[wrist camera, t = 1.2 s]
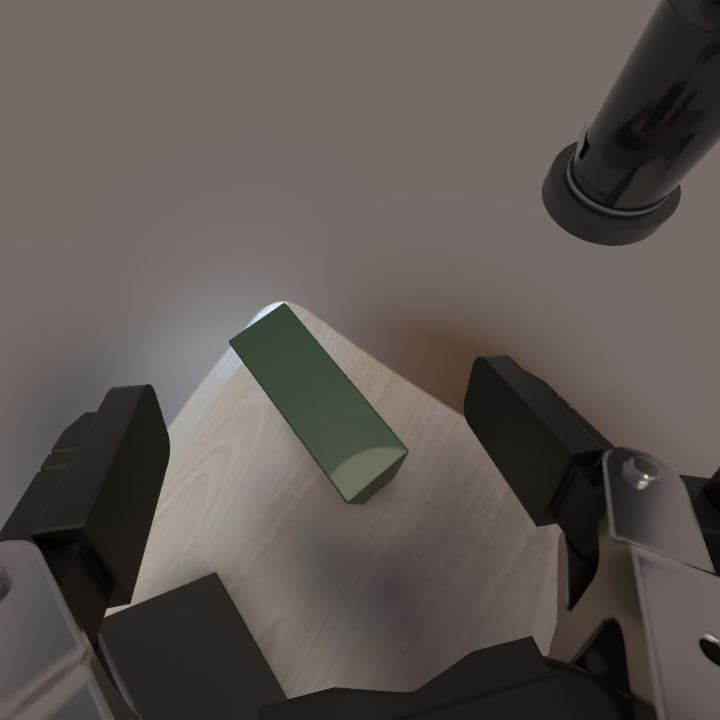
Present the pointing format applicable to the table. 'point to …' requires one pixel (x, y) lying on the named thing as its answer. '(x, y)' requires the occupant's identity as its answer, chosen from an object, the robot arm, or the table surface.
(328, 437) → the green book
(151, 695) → the grey faceted block
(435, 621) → the table surface
